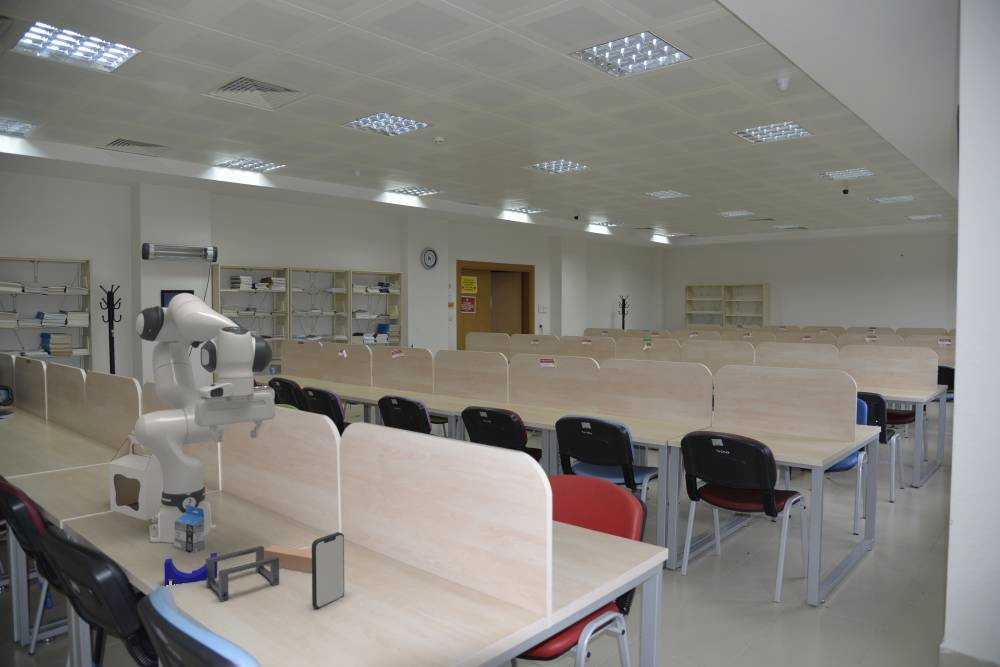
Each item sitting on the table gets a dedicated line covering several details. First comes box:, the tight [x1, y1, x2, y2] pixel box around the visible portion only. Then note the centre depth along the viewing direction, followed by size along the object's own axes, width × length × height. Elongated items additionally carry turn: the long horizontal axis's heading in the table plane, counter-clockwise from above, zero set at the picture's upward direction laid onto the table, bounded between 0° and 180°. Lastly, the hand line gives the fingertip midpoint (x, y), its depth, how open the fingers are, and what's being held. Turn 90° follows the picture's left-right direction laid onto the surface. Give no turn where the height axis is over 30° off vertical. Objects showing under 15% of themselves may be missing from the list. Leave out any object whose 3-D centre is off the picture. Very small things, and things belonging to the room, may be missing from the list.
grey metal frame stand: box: [205, 545, 280, 603], centre depth 161 cm, size 12×14×7 cm
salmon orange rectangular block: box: [264, 544, 312, 574], centre depth 172 cm, size 16×4×5 cm, turn 69°
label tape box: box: [173, 505, 205, 554], centre depth 186 cm, size 9×4×12 cm, turn 60°
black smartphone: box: [311, 531, 345, 609], centre depth 152 cm, size 9×2×16 cm, turn 144°
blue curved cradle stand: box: [163, 552, 218, 587], centre depth 166 cm, size 12×4×6 cm, turn 112°
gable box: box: [108, 429, 163, 521], centre depth 220 cm, size 22×13×28 cm, turn 59°
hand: (236, 439), depth 171 cm, fingers open, 8 cm apart
